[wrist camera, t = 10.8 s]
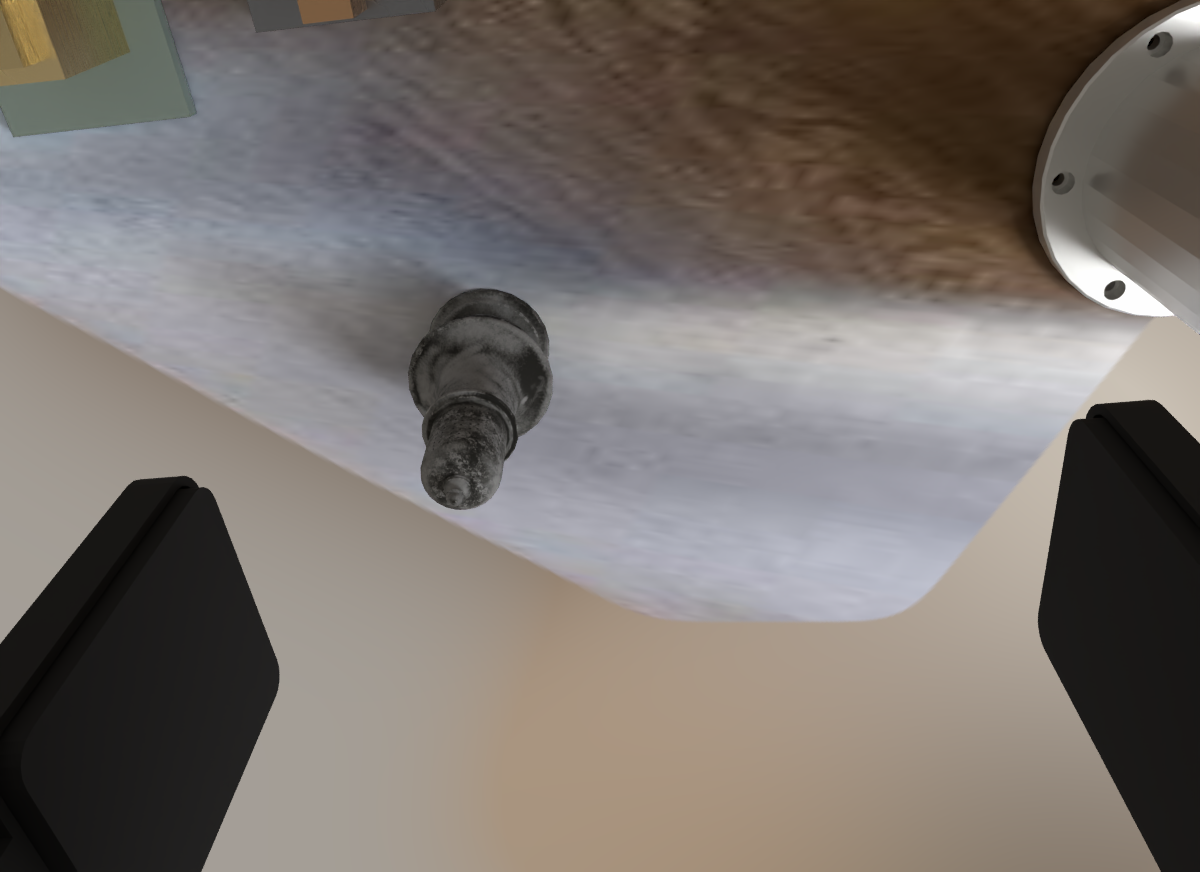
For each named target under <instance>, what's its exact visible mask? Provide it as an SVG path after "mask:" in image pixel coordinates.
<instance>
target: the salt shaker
mask: <svg viewBox="0 0 1200 872" xmlns="http://www.w3.org/2000/svg"><path fill="white" fill-rule="evenodd" d="M548 356H549V339H548V335H547V332H546V328H545V325H544V324H543V322H542V320H541V319H540V317H539V316H538V314H537V313H536V312H535V311H534V310H533V309H532V308H531V307H530V306H529V305H528V304H527V303H526V302H524V301H522V300H521V299H519V298H517V297H515V296H514V295H512V294H508V293H505V292H502V291H498V290H484V289H479V290H474V291H470V292H465V293H463V294H461V295H459V296H457V297H455V298H453V299H451V300H450V301H448V302H447V303H446V304H445V305H444V306H443V307H442V308H441V309H440V310H439V311H438V313H437V315H436V317H435V318H434V320H433V322H432V324H431V328H430V332H429V334H428V335H427V336H426V337H425V338H423V339H422V340H421V342H420V343H419V345H418V347H417V349H416V350H415V352H414V354H413V355H412V359H411V363H410V367H409V372H408V376H409V390H410V392H411V395H412V398H413V400H414V403H415V405H416V407H417V408H418V410H419V411H420V412H421V414H422V415H423V417H424V420H423V424H422V437H423V439H424V442H425V445H426V451H425V454H424V457H423V461H422V465H421V480H422V484H423V486H424V489H425V491H426V492H427V493H428V495H429V496H430V497H431V498H432V499H433V500H435V501H436V502H437V503H439V504H441V505H443V506H445V507H447V508H451V509H458V510H466V509H471V508H476V507H478V506H480V505H482V504H484V503H486V502H487V501H488V500H489V499H491V498H492V496H493V495H494V493H495V492H496V490H497V489H498V487H499V484H500V481H501V477H502V471H503V464H504V461H505V460H507V459H508V458H509V456H510V455H511V453H512V452H513V451H514V449H515V446H516V443H517V440H518V437H519V436H522V435H524V434H525V433H527V432H528V431H529V430H530V429H532V428H533V427H534V426H535V425H536V424H538V422H539V421H540V419H541V418H542V417H543V415H544V414H545V412H546V411H547V409H548V406H549V403H550V400H551V397H552V384H553V376H552V373H551V369H550V366H549V362H548Z"/></svg>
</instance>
